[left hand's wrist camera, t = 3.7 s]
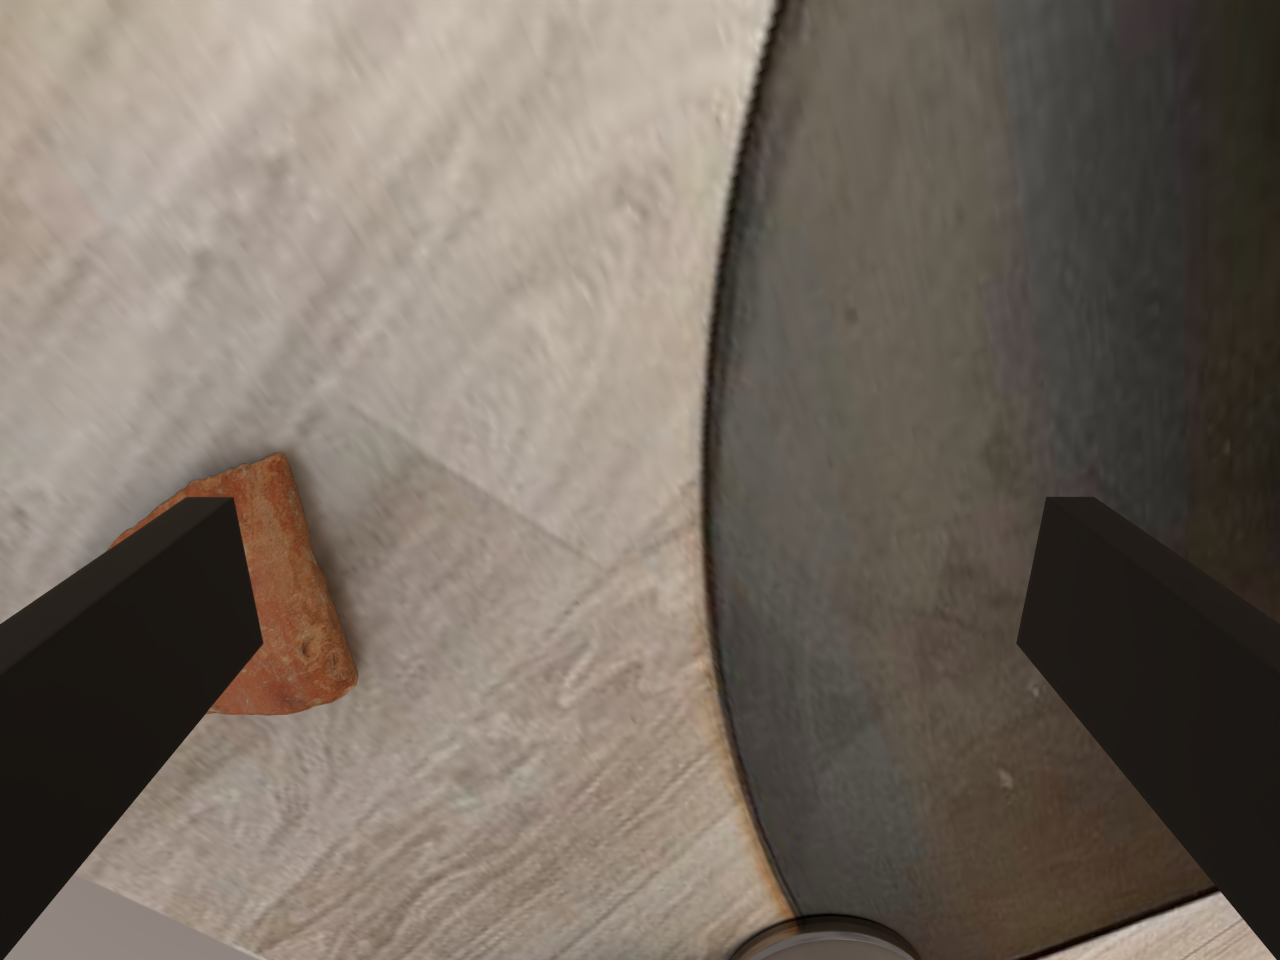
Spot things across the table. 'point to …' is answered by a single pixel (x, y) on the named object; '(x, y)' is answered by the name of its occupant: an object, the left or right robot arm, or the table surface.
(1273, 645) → the left robot arm
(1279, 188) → the table surface
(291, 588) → the ceramic shard
